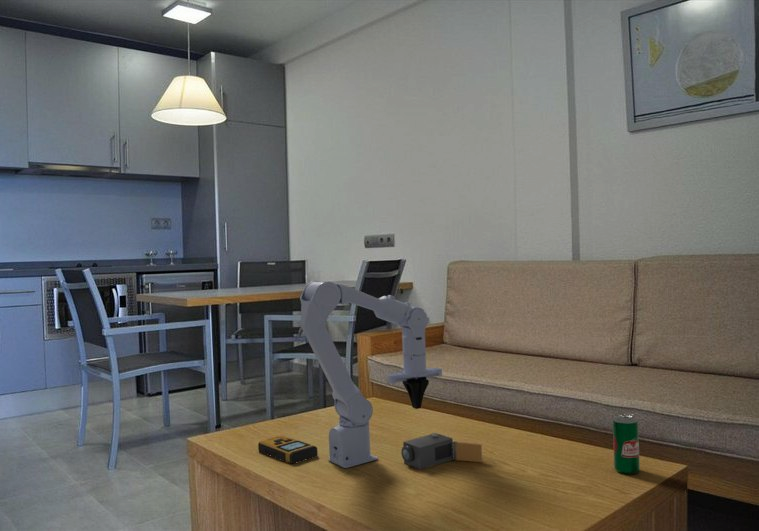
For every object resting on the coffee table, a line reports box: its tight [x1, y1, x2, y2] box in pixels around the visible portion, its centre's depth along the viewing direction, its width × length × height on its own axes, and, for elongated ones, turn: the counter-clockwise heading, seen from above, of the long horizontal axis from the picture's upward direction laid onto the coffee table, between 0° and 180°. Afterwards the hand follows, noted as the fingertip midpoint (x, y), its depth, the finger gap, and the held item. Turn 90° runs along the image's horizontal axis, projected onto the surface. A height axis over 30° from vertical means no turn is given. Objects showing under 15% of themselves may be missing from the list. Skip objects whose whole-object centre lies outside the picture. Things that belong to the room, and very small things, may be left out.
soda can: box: [612, 412, 641, 475], centre depth 133 cm, size 5×5×12 cm
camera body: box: [400, 432, 454, 471], centre depth 144 cm, size 11×6×6 cm, turn 126°
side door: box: [453, 440, 483, 463], centre depth 144 cm, size 7×1×4 cm, turn 69°
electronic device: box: [257, 434, 318, 464], centre depth 155 cm, size 8×16×3 cm, turn 42°
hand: (416, 407), depth 156 cm, fingers closed
